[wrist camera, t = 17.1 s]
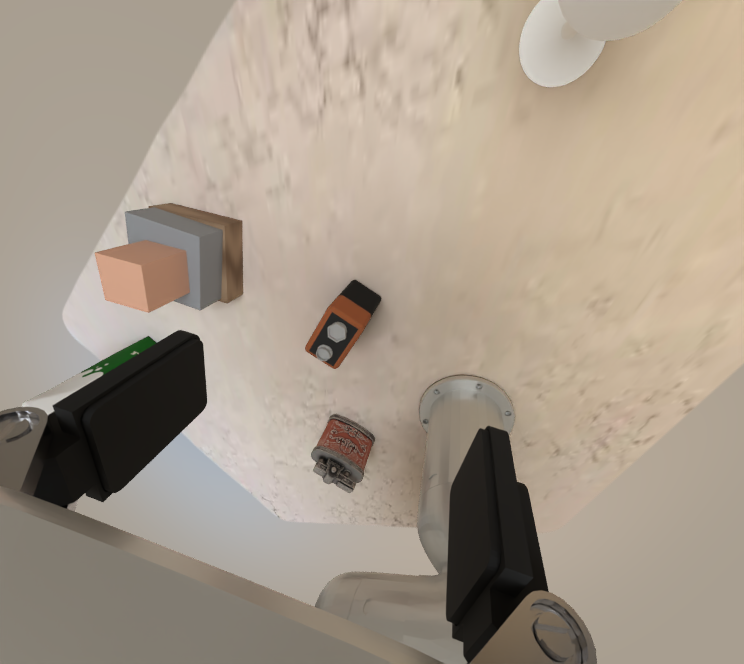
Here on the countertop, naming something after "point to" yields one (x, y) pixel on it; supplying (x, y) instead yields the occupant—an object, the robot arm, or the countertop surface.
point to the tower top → (188, 236)
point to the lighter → (342, 452)
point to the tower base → (230, 248)
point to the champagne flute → (580, 34)
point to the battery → (342, 324)
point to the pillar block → (143, 274)
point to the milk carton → (86, 376)
